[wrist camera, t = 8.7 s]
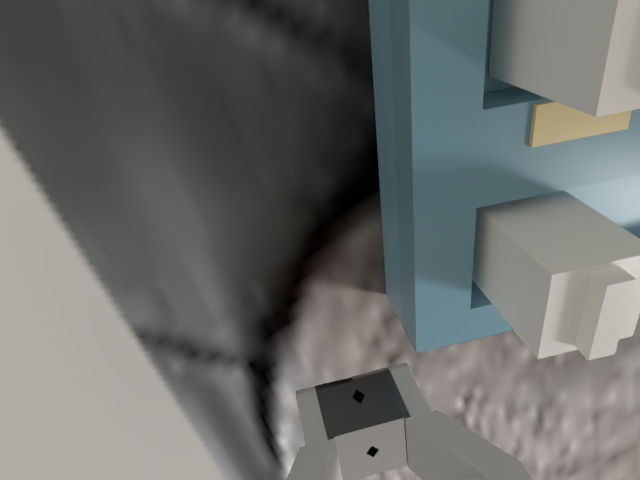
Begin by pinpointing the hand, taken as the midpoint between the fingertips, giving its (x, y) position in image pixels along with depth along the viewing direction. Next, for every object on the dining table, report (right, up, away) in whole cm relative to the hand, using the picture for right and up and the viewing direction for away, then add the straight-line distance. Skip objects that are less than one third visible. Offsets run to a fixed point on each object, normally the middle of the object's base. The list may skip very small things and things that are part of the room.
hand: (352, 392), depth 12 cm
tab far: (+6, +4, +4) cm, 9 cm away
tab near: (+5, +10, +1) cm, 12 cm away
